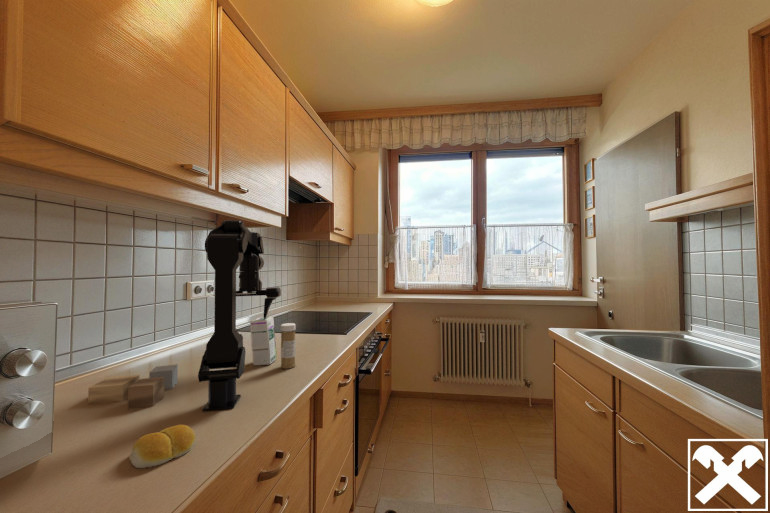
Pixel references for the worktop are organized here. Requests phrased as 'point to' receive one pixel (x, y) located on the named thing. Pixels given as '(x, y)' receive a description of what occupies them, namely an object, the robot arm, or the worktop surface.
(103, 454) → the worktop surface
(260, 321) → the syrup box
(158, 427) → the worktop surface
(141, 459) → the bread roll
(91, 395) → the oak base block
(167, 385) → the slate-grey cube
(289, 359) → the sprinkles bottle
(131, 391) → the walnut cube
